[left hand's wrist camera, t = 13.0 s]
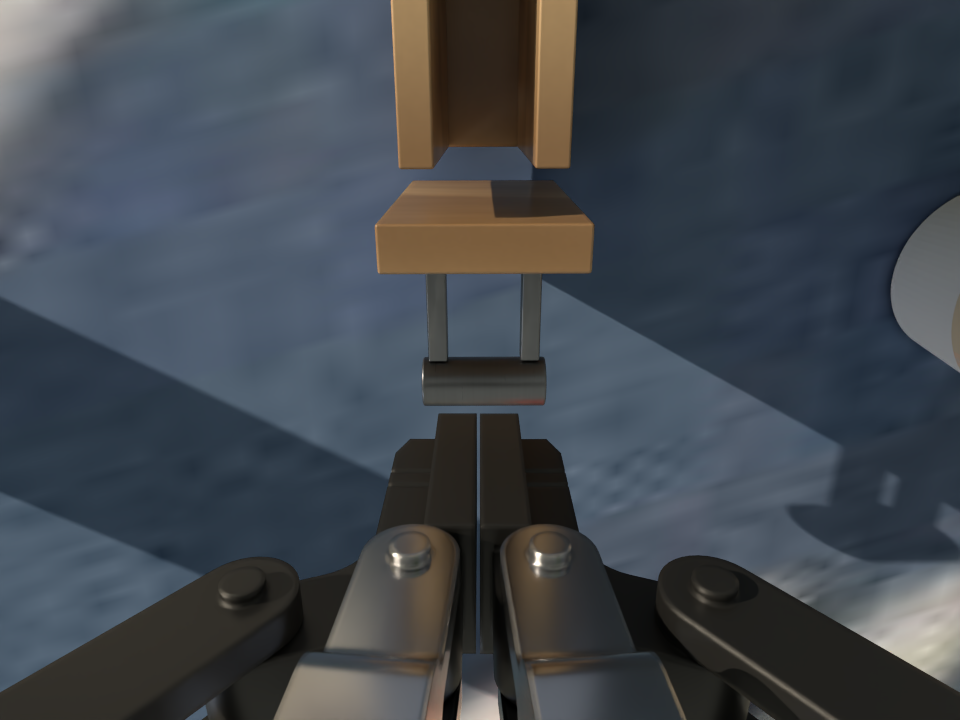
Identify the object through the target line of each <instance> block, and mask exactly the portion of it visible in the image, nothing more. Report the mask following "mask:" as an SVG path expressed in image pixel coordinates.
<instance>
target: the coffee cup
mask: <svg viewBox="0 0 960 720" xmlns="http://www.w3.org/2000/svg"><path fill="white" fill-rule="evenodd" d="M891 303H892V308H893V312H894V315H895V318H896V320H897V322H898V324H899V325H900V327H901V328H902V330H903V331H904V332H905V333H906V334H907V335H908V336H909V337H910V338H911V339H912V340H913V341H915V342H916V343H918V344H919V345H921V346H922V347H923V348H925V349H926V350H928V351H929V352H931V353H932V354H934V355H935V356H936V357H938V358H939V359H941V360H942V361H944V362H945V363H946V364H948V365H949V366H951V367H952V368H954V369H955V370H957V371H958V372H959V373H960V195H959V196H957V197H955V198H953V199H952V200H950V201H948V202H947V203H945V204H944V205H942V206H941V207H940V208H938V209H937V210H936V211H935V212H933V213H932V214H931V215H930V216H929V217H928V218H927V219H926V220H925V221H924V222H923V223H922V224H921V225H920V226H919V227H918V228H917V229H916V231H915V232H914V233H913V234H912V236H911V237H910V239H909V240H908V242H907V243H906V245H905V246H904V248H903V250H902V252H901V254H900V256H899V258H898V261H897V263H896V266H895V269H894V273H893V277H892V283H891Z"/></svg>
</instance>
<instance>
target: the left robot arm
mask: <svg viewBox="0 0 960 720" xmlns="http://www.w3.org/2000/svg"><path fill="white" fill-rule="evenodd" d="M388 484H389V485H388V487H387V491H386V495H385V500H384V504H383V508H382V512H381V516H380V520H379V524H378V529H377V533H376V535H375V536H374V537H373V538H371V539H370V540H369V541H368V542H367V543H366V545H365V546H364V548H363V550H362V551H361V554H360V557H359V559H358V561H356V562H355V563H353V564H351V565H349V566H347V567H345V568H344V569H341V570H338V571H336V572H333V573H329V574H325V575H321V576H317V577H312V578H308V579H304V580H299V577H298V574H297V572H296V571H295V569H294V568H293V567H292V566H291V565H289V564H288V563H286V562H284V561H282V560H279V559H276V558H270V557H250V558H245V559H240V560H236V561H233V562H230V563H227V564H225V565H222V566H220V567H218V568H216V569H214V570H213V571H211V572H209V573H207V574H206V575H204V576H202V577H200V578H199V579H197V580H195V581H193V582H192V583H190V584H188V585H186V586H185V587H183V588H181V589H180V590H178V591H176V592H174V593H173V594H171V595H169V596H167V597H166V598H164V599H162V600H160V601H159V602H157V603H155V604H153V605H152V606H150V607H148V608H146V609H145V610H143V611H141V612H139V613H138V614H136V615H134V616H133V617H131V618H129V619H127V620H126V621H124V622H122V623H120V624H119V625H117V626H115V627H113V628H112V629H110V630H108V631H106V632H105V633H103V634H101V635H99V636H98V637H96V638H94V639H93V640H91V641H89V642H87V643H86V644H84V645H82V646H80V647H79V648H77V649H75V650H73V651H72V652H70V653H68V654H66V655H65V656H63V657H61V658H59V659H58V660H56V661H54V662H52V663H51V664H49V665H47V666H46V667H44V668H42V669H40V670H39V671H37V672H35V673H33V674H32V675H30V676H28V677H26V678H25V679H23V680H21V681H19V682H18V683H16V684H14V685H12V686H11V687H9V688H7V689H6V690H4V691H2V692H0V720H185V719H186V718H188V717H189V716H190V715H192V714H193V713H194V712H196V711H197V710H198V709H200V708H201V707H203V706H204V705H205V704H206V709H207V714H208V715H207V716H206V717H205V718H203V719H202V720H460V714H461V706H462V654H476V554H477V414H439V415H438V421H437V429H436V436H435V439H410V440H409V441H408V442H407V443H406V444H405V445H404V446H403V447H402V448H401V449H399V450H398V451H397V452H396V454H395V458H394V462H393V466H392V473H391V475H390V479H389V483H388ZM480 654H493V659H494V678H495V682H496V684H497V687H498V706H499V714H500V720H758V719H757V718H755V717H754V716H753V715H751V714H750V713H749V712H748V709H749V704H750V701H751V702H752V703H753V704H755V705H756V706H757V707H759V708H760V709H762V710H763V711H764V712H766V713H767V714H768V715H770V716H771V717H772V718H774V719H775V720H960V692H958V691H956V690H954V689H953V688H951V687H949V686H947V685H946V684H944V683H942V682H941V681H939V680H937V679H935V678H934V677H932V676H930V675H928V674H927V673H925V672H923V671H921V670H920V669H918V668H916V667H914V666H913V665H911V664H909V663H907V662H906V661H904V660H902V659H901V658H899V657H897V656H895V655H894V654H892V653H890V652H888V651H887V650H885V649H883V648H881V647H880V646H878V645H876V644H874V643H873V642H871V641H869V640H867V639H866V638H864V637H862V636H861V635H859V634H857V633H855V632H854V631H852V630H850V629H848V628H847V627H845V626H843V625H841V624H840V623H838V622H836V621H834V620H833V619H831V618H829V617H827V616H826V615H824V614H822V613H820V612H819V611H817V610H815V609H814V608H812V607H810V606H808V605H807V604H805V603H803V602H801V601H800V600H798V599H796V598H794V597H793V596H791V595H789V594H787V593H786V592H784V591H782V590H780V589H779V588H777V587H775V586H774V585H772V584H770V583H768V582H767V581H765V580H763V579H761V578H760V577H758V576H756V575H754V574H753V573H751V572H749V571H747V570H746V569H744V568H742V567H740V566H738V565H736V564H734V563H731V562H729V561H726V560H723V559H719V558H715V557H710V556H700V555H696V556H685V557H680V558H677V559H675V560H673V561H671V562H669V563H668V564H666V565H665V566H664V567H663V569H662V570H661V572H660V574H659V578H658V581H655V580H651V579H646V578H642V577H637V576H633V575H629V574H625V573H622V572H619V571H616V570H614V569H611V568H609V567H607V566H606V565H604V564H603V562H602V559H601V557H600V554H599V551H598V550H597V548H596V546H595V545H594V543H593V542H592V541H591V540H590V539H589V538H587V537H586V536H585V535H583V534H582V533H580V532H579V530H578V525H577V521H576V517H575V512H574V508H573V504H572V499H571V495H570V491H569V487H568V482H567V478H566V473H565V469H564V465H563V460H562V456H561V453H560V452H559V451H558V450H557V449H556V448H555V447H554V446H553V445H552V444H551V443H550V442H549V441H548V440H547V439H521V433H520V425H519V417H518V414H480Z"/></svg>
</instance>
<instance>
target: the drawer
mask: <svg viewBox="0 0 960 720" xmlns="http://www.w3.org/2000/svg"><path fill="white" fill-rule="evenodd" d="M577 11H578V0H391V13H392V34H393V55H394V76H395V96H396V117H397V138H398V159H399V168H400V169H433V168H434V167H435V165H436V164H437V162H438V161H439V160H440V158H441V157H442V155H443V154H444V152H445V151H446V150H447V148H448V147H519V149H520V150H521V151H522V152H523V153H524V155H525V156H526V157H527V158H528V159H529V160H530V162H531V163H532V164H533V165H534V166H535V167H536V168H537V169H555V168H570V163H571V141H572V120H573V98H574V76H575V54H576V33H577ZM594 227H595V226H594V223H593V222H592V221H591V220H590V219H589V218H588V217H587V216H586V215H585V214H584V213H583V212H582V211H581V210H580V209H579V207H578V206H577V205H576V204H575V203H574V202H573V201H572V200H571V199H570V198H569V197H568V196H567V195H566V194H565V192H564V191H563V190H562V189H561V188H560V187H559V186H558V185H557V184H556V183H555V182H554V181H553V180H483V181H412V183H411V184H410V185H409V186H408V187H407V188H406V190H405V191H404V192H403V193H402V194H401V195H400V197H399V198H398V199H397V200H396V201H395V202H394V204H393V205H392V206H391V207H390V208H389V210H388V211H387V212H386V213H385V214H384V215H383V217H382V218H381V219H380V220H379V221H378V222H377V224H376V225H375V237H376V252H377V268H378V273H379V274H426V297H427V326H428V354H429V357H424V359H423V365H422V398H423V404H424V405H425V406H496V405H544V404H545V400H546V364H545V359H544V357H539V353H540V322H541V291H542V274H568V273H591V271H592V260H593V243H594ZM447 274H521V306H520V357H448V316H447Z"/></svg>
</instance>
